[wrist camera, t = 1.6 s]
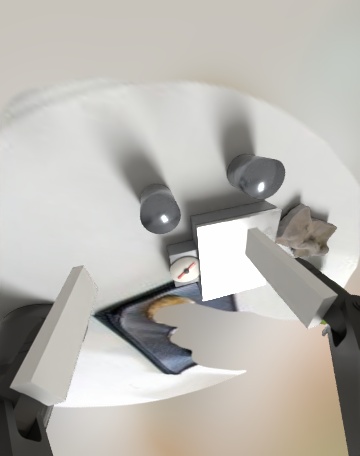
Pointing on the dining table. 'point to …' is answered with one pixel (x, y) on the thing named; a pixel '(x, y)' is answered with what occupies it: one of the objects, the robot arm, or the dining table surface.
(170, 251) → the scale
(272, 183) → the cylinder
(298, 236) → the stone
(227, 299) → the dining table surface
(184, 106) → the dining table surface
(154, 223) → the cylinder
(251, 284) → the platform
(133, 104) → the dining table surface
